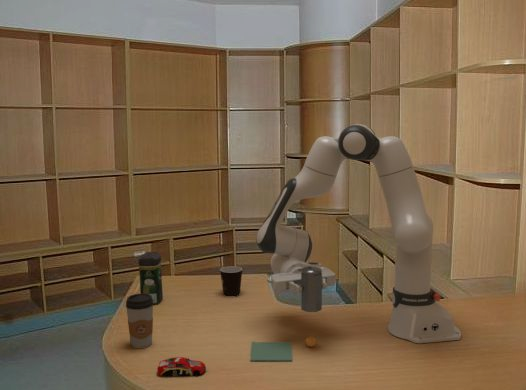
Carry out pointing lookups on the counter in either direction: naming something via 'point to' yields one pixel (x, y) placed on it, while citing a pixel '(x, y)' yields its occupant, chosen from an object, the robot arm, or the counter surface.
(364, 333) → the counter surface
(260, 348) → the mat
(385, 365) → the counter surface
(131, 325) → the coffee cup
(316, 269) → the canister
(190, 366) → the race car
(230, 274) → the coffee mug
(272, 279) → the robot arm
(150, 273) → the coffee jar
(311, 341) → the ball
